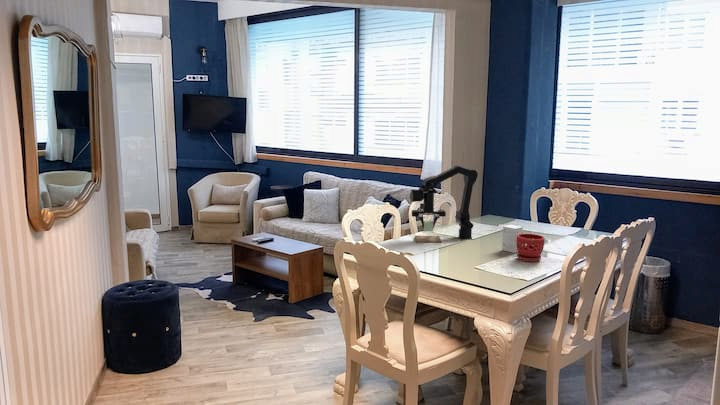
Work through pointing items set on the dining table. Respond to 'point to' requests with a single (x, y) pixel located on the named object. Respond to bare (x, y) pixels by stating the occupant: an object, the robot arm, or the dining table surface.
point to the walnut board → (428, 239)
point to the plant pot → (530, 247)
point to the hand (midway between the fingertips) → (428, 228)
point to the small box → (510, 238)
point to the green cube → (428, 225)
